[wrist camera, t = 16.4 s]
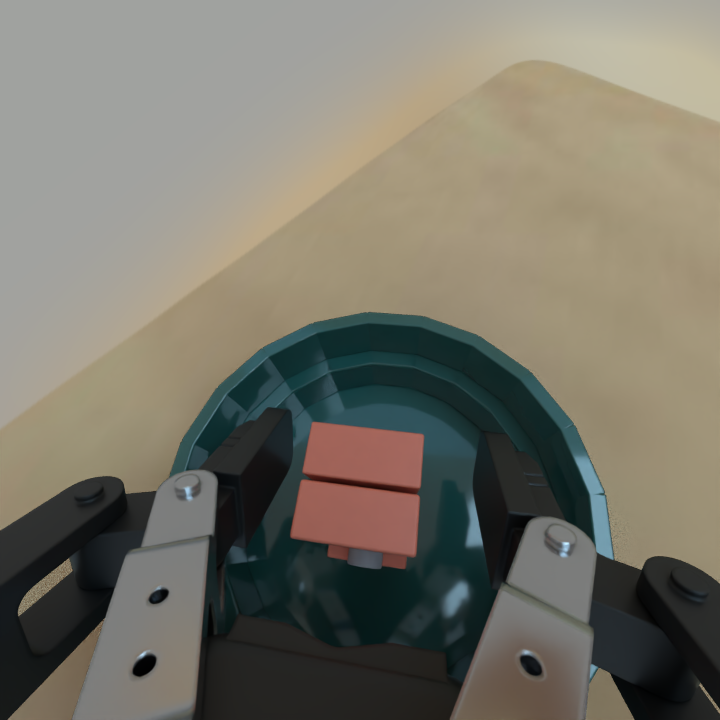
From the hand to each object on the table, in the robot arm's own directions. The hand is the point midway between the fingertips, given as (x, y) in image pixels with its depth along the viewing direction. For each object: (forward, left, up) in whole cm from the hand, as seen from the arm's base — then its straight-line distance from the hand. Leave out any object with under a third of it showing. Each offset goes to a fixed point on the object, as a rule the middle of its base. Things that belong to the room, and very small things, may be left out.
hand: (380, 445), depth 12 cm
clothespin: (0, +2, -4) cm, 5 cm away
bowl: (0, +2, -5) cm, 5 cm away
